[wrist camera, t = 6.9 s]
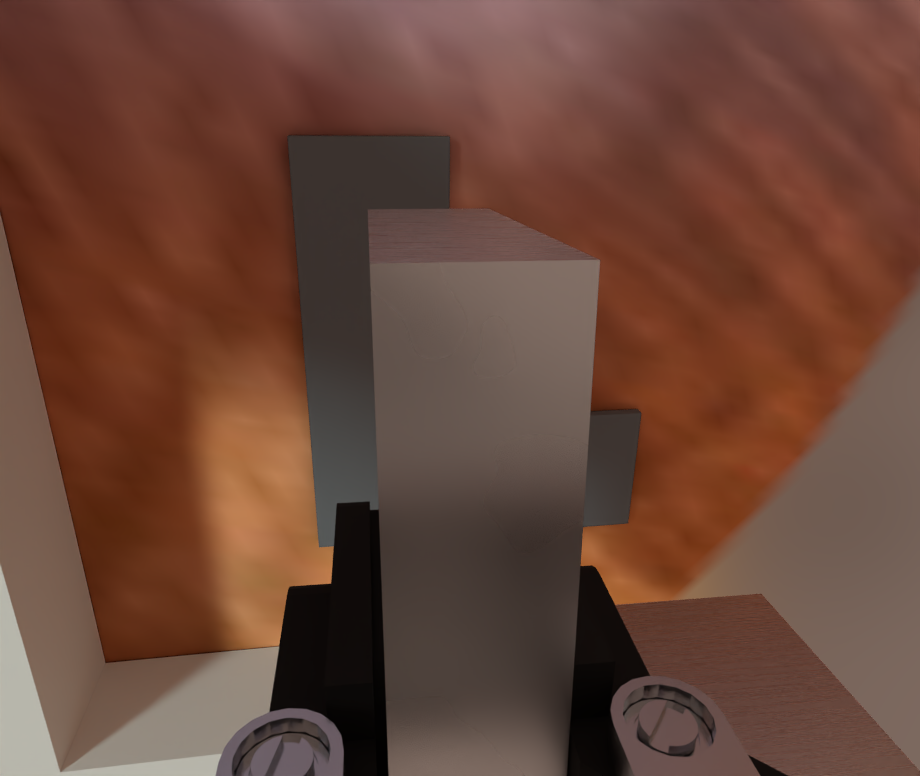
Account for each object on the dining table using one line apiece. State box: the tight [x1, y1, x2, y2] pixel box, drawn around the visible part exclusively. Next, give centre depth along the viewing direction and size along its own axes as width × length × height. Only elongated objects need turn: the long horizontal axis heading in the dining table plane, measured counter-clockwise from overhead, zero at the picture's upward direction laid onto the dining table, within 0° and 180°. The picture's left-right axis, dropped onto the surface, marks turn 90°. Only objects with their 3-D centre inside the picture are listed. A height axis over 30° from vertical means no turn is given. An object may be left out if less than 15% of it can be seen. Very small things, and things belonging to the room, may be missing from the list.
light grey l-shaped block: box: [0, 214, 279, 776], centre depth 19 cm, size 20×15×4 cm
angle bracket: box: [368, 208, 920, 776], centre depth 11 cm, size 10×8×6 cm
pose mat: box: [287, 135, 641, 547], centre depth 20 cm, size 12×10×1 cm
